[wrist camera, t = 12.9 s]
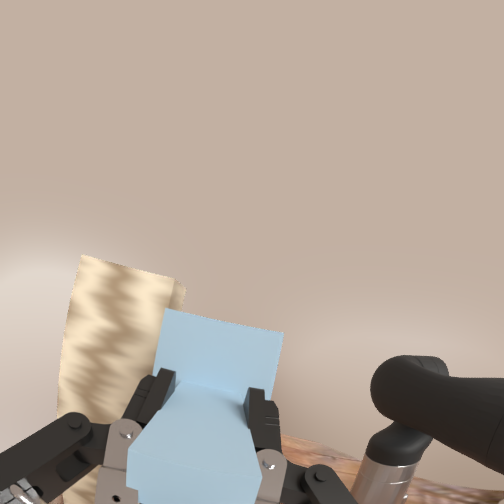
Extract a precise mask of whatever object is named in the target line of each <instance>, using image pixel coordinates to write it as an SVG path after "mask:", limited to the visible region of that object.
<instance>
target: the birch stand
mask: <svg viewBox="0 0 504 504" xmlns="http://www.w3.org/2000/svg"><path fill="white" fill-rule="evenodd" d="M185 293H186V288H185V287H184V286H183V285H181V284H180V283H179V282H178V281H177V280H176V279H173V278H170V277H165V276H161V275H157V274H153V273H149V272H145V271H141V270H138V269H134V268H130V267H126V266H122V265H119V264H115V263H111V262H108V261H104V260H100V259H97V258H93V257H90V256H86V255H82V257H81V260H80V263H79V267H78V271H77V275H76V279H75V283H74V287H73V291H72V295H71V300H70V305H69V310H68V315H67V320H66V326H65V332H64V338H63V345H62V353H61V362H60V371H59V383H58V402H57V403H58V404H57V419H58V418H60V417H62V416H63V415H65V414H67V413H69V412H78V413H81V414H83V415H85V416H86V417H87V418H88V419H89V420H90V422H91V423H99V424H112V423H113V422H114V421H116V420H118V419H121V417H122V416H123V414H124V412H125V410H126V408H127V406H128V404H129V402H130V400H131V398H132V396H133V395H134V392H135V390H136V389H137V386H138V384H139V382H140V380H141V379H143V378H144V377H145V376H147V375H148V374H149V375H152V374H153V368H154V362H155V357H156V351H157V346H158V341H159V336H160V331H161V326H162V321H163V317H164V312H165V308H169V309H172V310H176V311H182V306H183V301H184V297H185ZM100 466H102V465H98V466H97V467H96V468H94V469H93V470H92V471H91V472H89V473H88V474H87V475H85V476H84V477H83V478H82V479H80V480H79V481H78V482H76V483H75V484H74V485H72V486H71V487H70V488H68V489H67V490H66V491H64V492H63V493H62V494H63V500H64V504H94V503H95V493H96V485H97V477H98V471H99V468H100Z"/></svg>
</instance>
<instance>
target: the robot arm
mask: <svg viewBox="0 0 504 504" xmlns="http://www.w3.org/2000/svg"><path fill="white" fill-rule="evenodd" d="M175 382H176V371H173V370H169V369H165V368H162V367H161V368H160V370H159V372H158V374H157V376H156V377H155V376H152V375H149V374H148V375H147V376H145V377H144V378H143V379H141V380H140V382H139V384H138V386H137V389H136V390H135V392H134V395H133V396H132V398H131V400H130V402H129V404H128V406H127V408H126V410H125V412H124V414H123V416H122V417H121V419H118V420H116V421H114V422H113V423H112V424H99V423H91V422H90V420H89V419H88V418H87V417H86V416H85V415H83V414H81V413H78V412H69V413H67V414H65V415H63V416H62V417H60V418H58V419H57V420H55V421H54V422H52V423H50V424H49V425H47V426H46V427H44V428H42V429H41V430H39V431H37V432H36V433H34V434H32V435H31V436H29V437H27V438H26V439H24V440H22V441H21V442H19V443H17V444H16V445H14V446H12V447H11V448H9V449H7V450H6V451H4V452H2V453H0V504H48V503H49V502H51V501H52V500H54V499H55V498H56V497H58V496H59V495H60V494H62V493H63V492H64V491H66V490H67V489H68V488H70V487H71V486H72V485H74V484H75V483H76V482H78V481H79V480H80V479H82V478H83V477H84V476H85V475H87V474H88V473H89V472H91V471H92V470H93V469H94V468H96V467H97V466H98V465H102V466H100V468H99V471H98V477H97V485H96V493H95V503H94V504H142V503H140V502H139V494H138V490H136V489H133V488H130V487H127V486H126V473H127V456H128V448H129V447H130V446H131V444H132V443H133V442H134V441H135V439H136V438H137V437H138V436H139V434H140V433H141V432H142V431H143V429H144V428H145V427H146V425H147V424H148V423H149V422H150V420H151V419H152V418H153V417H154V415H155V414H156V413H157V411H158V410H161V409H162V407H163V406H164V405H165V403H166V402H167V401H168V399H169V398H170V397H171V395H172V394H173V393H174V391H175ZM370 387H371V388H370V391H371V397H372V401H373V403H374V405H375V407H376V408H377V410H378V411H379V412H380V413H381V414H382V415H383V416H385V417H387V418H389V419H391V420H393V421H394V422H393V423H392V424H391V425H390V426H388V427H387V428H385V429H383V430H381V431H380V432H378V433H376V434H374V435H373V436H372V437H371V439H370V440H369V443H368V446H367V449H366V452H365V455H364V458H363V460H362V463H361V466H360V468H359V471H358V474H357V476H356V479H355V481H354V484H353V486H352V488H351V491H350V492H349V491H348V489H347V488H346V487H345V485H344V484H343V483H342V481H341V480H340V478H339V477H338V476H337V474H336V473H335V472H334V470H333V469H332V468H330V467H328V466H326V465H321V464H317V465H313V466H311V467H309V468H306V467H302V466H299V465H295V464H293V463H291V462H289V461H288V460H287V459H286V458H285V457H284V455H283V453H282V450H281V437H280V426H279V412H278V408H277V406H276V404H275V403H274V401H270V400H265V390H264V389H259V388H252V387H249V388H248V390H247V394H246V397H245V400H244V403H243V408H244V413H245V417H246V421H247V426H248V429H250V432H251V436H252V440H253V444H254V447H255V451H256V455H257V459H258V462H259V466H260V470H261V473H262V480H261V484H260V487H259V490H258V494H257V497H256V500H255V503H254V504H280V503H284V504H404V503H405V502H406V500H407V498H408V495H407V494H406V492H407V489H408V487H409V485H410V483H411V481H412V479H413V476H414V474H415V472H416V469H417V467H418V464H419V462H420V459H421V457H422V454H423V452H424V451H425V449H426V448H427V447H428V446H429V444H430V443H431V441H432V440H433V438H434V439H436V440H438V441H440V442H441V443H443V444H444V445H446V446H448V447H450V448H452V449H454V450H456V451H458V452H460V453H462V454H464V455H466V456H468V457H470V458H472V459H474V460H475V461H477V462H479V463H481V464H482V465H484V466H486V467H488V468H490V469H492V470H494V471H496V472H499V473H501V474H503V475H504V378H459V377H451V376H449V372H448V369H447V366H446V364H445V363H444V362H443V361H442V360H441V359H440V358H437V357H433V356H411V355H401V356H396V357H393V358H390V359H388V360H386V361H385V362H384V363H382V364H381V365H380V366H379V367H378V368H377V370H376V371H375V373H374V375H373V377H372V380H371V386H370ZM279 502H280V503H279Z"/></svg>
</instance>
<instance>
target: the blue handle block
mask: <svg viewBox="0 0 504 504" xmlns="http://www.w3.org/2000/svg"><path fill="white" fill-rule="evenodd" d="M283 336H284V333H281V332H276V331H270V330H264V329H259V328H254V327H249V326H244V325H238V324H234V323H229V322H224V321H219V320H215V319H210V318H205V317H201V316H197V315H193V314H188V313H184V312H181V311H176V310H172V309H169V308H165V312H164V317H163V321H162V326H161V331H160V336H159V341H158V346H157V351H156V357H155V362H154V368H153V374H152V376H155V377H156V376H157V374H158V372H159V370H160V368H161V367H162V368H165V369H169V370H173V371H176V382H175V391H174V393H173V394H172V395H171V397H170V398H169V399H168V401H167V402H166V403H165V405H164V406H163V407H162V409H161V410H158V411H157V413H156V414H155V415H154V417H153V418H152V419H151V420H150V422H149V423H148V424H147V425H146V427H145V428H144V429H143V431H142V432H141V433H140V434H139V436H138V437H137V438H136V439H135V441H134V442H133V443H132V444H131V446H130V447H129V448H128V456H127V473H126V486H127V487H130V488H133V489H136V490H138V494H139V502H140V503H142V504H254V503H255V500H256V497H257V494H258V490H259V487H260V484H261V480H262V473H261V470H260V466H259V462H258V459H257V455H256V451H255V447H254V444H253V440H252V436H251V432H250V429H248V426H247V421H246V417H245V413H244V408H243V403H244V400H245V397H246V394H247V390H248V388H249V387H252V388H259V389H264V390H265V400H270V399H271V394H272V390H273V385H274V380H275V376H276V371H277V366H278V361H279V356H280V351H281V346H282V341H283Z"/></svg>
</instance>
